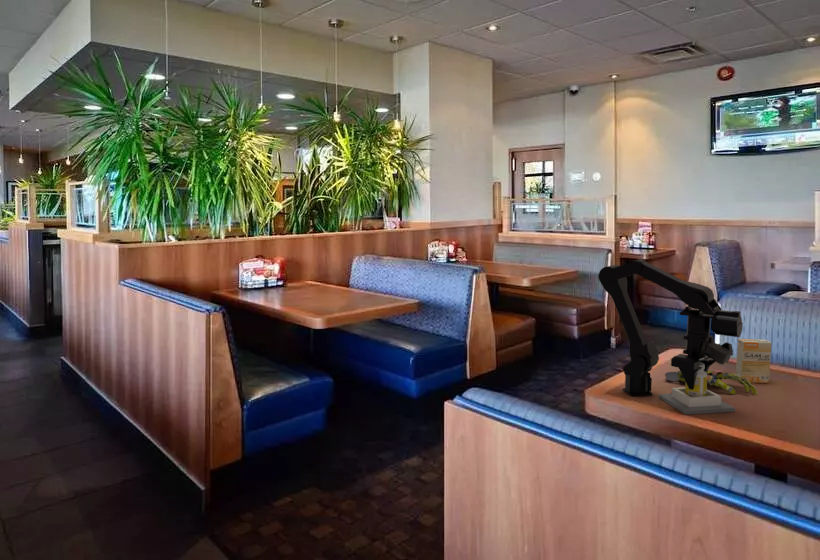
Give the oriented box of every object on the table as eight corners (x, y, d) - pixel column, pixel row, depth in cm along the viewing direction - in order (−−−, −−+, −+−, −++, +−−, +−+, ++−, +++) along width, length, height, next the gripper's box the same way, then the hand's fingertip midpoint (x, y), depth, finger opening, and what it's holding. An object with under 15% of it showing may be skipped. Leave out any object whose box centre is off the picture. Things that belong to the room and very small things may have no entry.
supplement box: (740, 383, 184) (742, 341, 183) (735, 378, 189) (737, 338, 187) (769, 383, 183) (772, 342, 181) (763, 379, 188) (765, 338, 186)
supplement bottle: (699, 394, 169) (701, 360, 168) (710, 400, 164) (711, 365, 162) (681, 394, 169) (682, 361, 167) (690, 401, 163) (692, 366, 162)
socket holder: (685, 414, 159) (686, 401, 158) (658, 397, 173) (659, 385, 172) (735, 411, 160) (735, 399, 160) (704, 394, 174) (704, 383, 174)
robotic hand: (673, 370, 195) (759, 369, 178) (675, 392, 194) (761, 394, 177) (659, 371, 186) (748, 371, 169) (661, 395, 185) (751, 397, 168)
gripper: (714, 342, 152) (711, 401, 154) (743, 331, 164) (740, 386, 166) (671, 335, 160) (668, 392, 162) (701, 325, 172) (699, 377, 174)
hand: (695, 387), depth 166 cm, fingers closed on supplement bottle, 5 cm apart
